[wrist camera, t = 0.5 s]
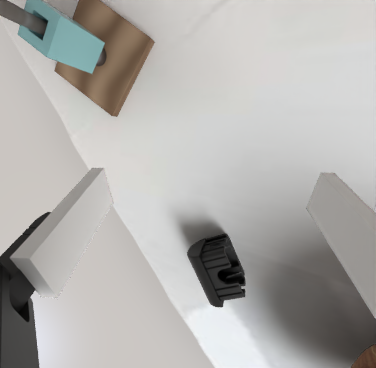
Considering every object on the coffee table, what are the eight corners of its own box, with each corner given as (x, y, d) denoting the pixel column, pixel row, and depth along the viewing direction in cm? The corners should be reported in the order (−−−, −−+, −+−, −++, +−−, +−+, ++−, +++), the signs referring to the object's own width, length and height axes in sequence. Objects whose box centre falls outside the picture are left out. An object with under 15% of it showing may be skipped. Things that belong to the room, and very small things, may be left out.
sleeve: (105, 43, 31) (60, 15, 24) (92, 73, 33) (46, 57, 26) (80, 24, 32) (28, -9, 24) (68, 56, 33) (17, 34, 26)
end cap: (192, 240, 41) (182, 260, 34) (226, 230, 38) (221, 250, 32) (212, 283, 42) (206, 310, 35) (246, 276, 39) (246, 304, 33)
